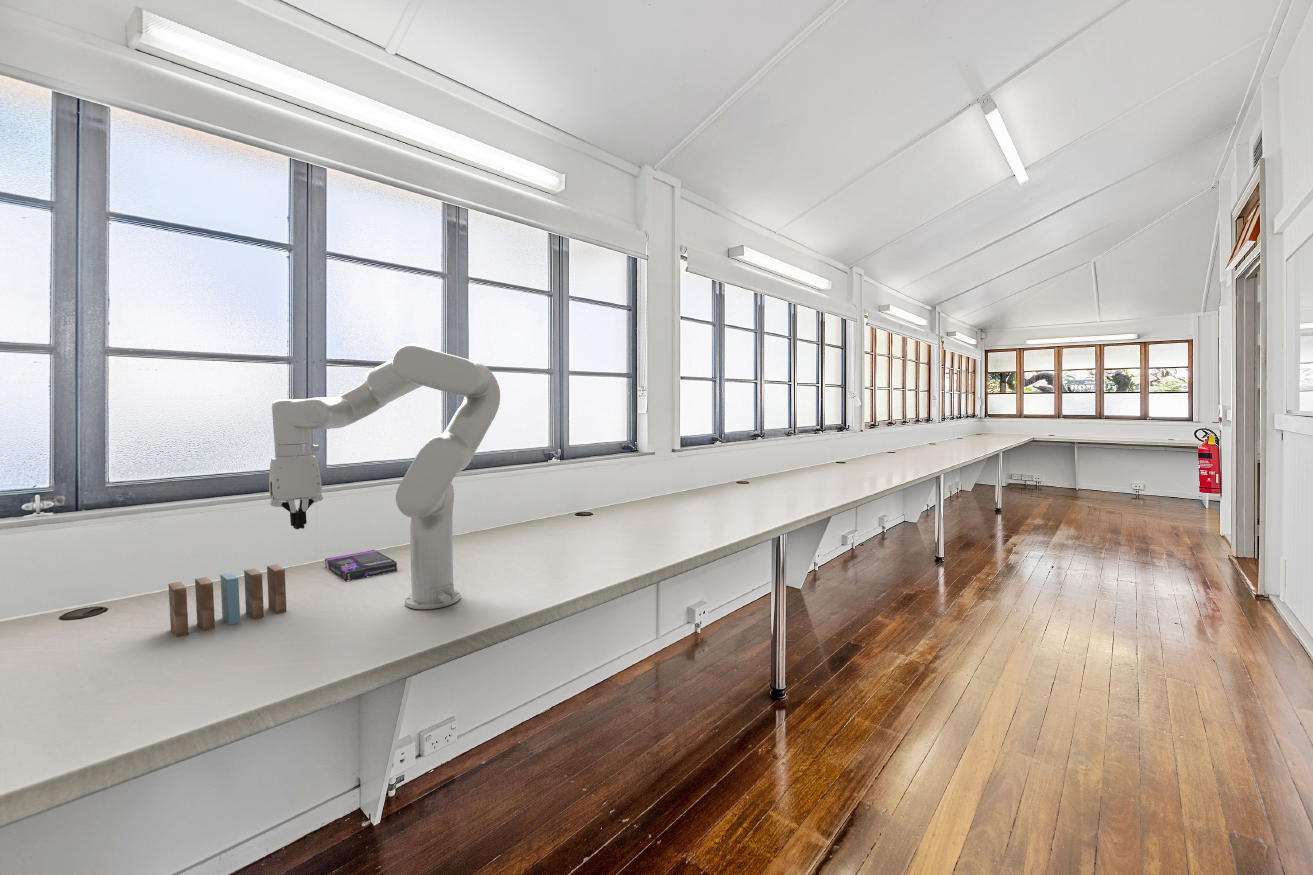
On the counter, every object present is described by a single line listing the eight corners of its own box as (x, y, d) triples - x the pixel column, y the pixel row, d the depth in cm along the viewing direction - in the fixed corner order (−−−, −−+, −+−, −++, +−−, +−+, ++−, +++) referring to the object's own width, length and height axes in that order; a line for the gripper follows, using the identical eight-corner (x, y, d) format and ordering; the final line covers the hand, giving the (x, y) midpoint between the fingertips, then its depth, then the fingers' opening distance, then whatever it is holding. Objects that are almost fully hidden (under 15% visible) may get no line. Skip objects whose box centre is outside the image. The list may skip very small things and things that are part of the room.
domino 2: (208, 621, 130) (206, 576, 129) (215, 628, 126) (212, 582, 125) (197, 623, 128) (194, 578, 127) (203, 630, 124) (201, 584, 123)
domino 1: (182, 627, 126) (180, 581, 126) (188, 634, 122) (186, 587, 122) (170, 629, 125) (168, 583, 124) (176, 637, 121) (173, 589, 120)
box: (325, 569, 173) (344, 583, 158) (324, 558, 172) (344, 570, 158) (375, 560, 182) (397, 572, 168) (374, 549, 182) (397, 560, 168)
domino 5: (278, 605, 140) (276, 564, 139) (286, 611, 136) (284, 568, 135) (268, 607, 138) (266, 565, 137) (276, 613, 134) (274, 570, 133)
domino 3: (233, 615, 133) (231, 572, 132) (240, 622, 129) (238, 577, 128) (222, 617, 131) (220, 574, 131) (229, 624, 127) (227, 579, 127)
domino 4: (256, 610, 136) (254, 568, 136) (263, 616, 132) (262, 573, 132) (246, 612, 135) (244, 570, 134) (253, 619, 131) (251, 575, 130)
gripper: (323, 448, 146) (328, 521, 147) (252, 453, 135) (258, 531, 137) (333, 449, 141) (338, 524, 142) (260, 454, 130) (265, 536, 131)
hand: (298, 528), depth 139 cm, fingers closed
